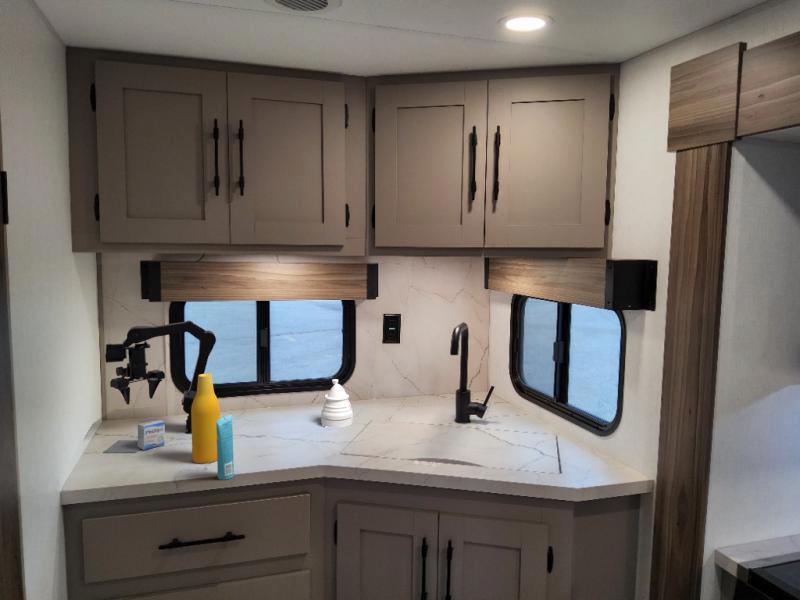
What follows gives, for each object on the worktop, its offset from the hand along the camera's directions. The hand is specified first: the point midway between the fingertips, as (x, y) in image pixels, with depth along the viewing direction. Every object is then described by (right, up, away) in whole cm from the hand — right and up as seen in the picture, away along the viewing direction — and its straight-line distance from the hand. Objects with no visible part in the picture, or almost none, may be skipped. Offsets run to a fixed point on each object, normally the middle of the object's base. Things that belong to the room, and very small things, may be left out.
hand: (139, 401), depth 208 cm
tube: (+43, -18, -34) cm, 57 cm away
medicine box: (+8, -15, -9) cm, 19 cm away
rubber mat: (0, -15, -9) cm, 17 cm away
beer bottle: (+32, -16, -20) cm, 41 cm away
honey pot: (+72, -13, +20) cm, 76 cm away
